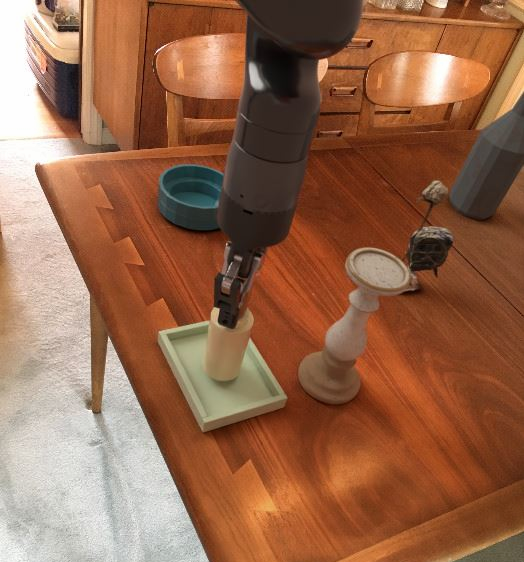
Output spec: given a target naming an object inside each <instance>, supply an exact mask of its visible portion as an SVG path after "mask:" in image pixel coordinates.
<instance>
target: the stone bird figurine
mask: <svg viewBox="0 0 524 562" xmlns="http://www.w3.org/2000/svg"><path fill="white" fill-rule="evenodd" d="M448 193H449V188H448V187H447V186H446V185H444V184H443V182H442V181H441V180H438V179H434V180H433V181H431V183H430V184H429V185H428V186H427V187H425V188H424V189H423V191H422V192H421V197H418V199H416V201H415V203H420V202H421V201H424V202H426V203H429V204H430V205H429V207H428V209H427V211H426V213H425V216H424V219H423V220H422V223H421V224H420V227H419V228H418V229H417V230H415V231H414V232H413V234H412V236H410V237H409V241H408V245H407V250H405V253H404V256H403V258H402V259H401V261H402V262H403V263H404V261H405V260H407V262H408V263H407V264H405V263H404V264H405V265H406V266H407V268H408V270H409V272H410V284H409V286H408V288H407V289H406V290H405V291H404V292H408V291H415V290H421V287H420V286H419V282H418V277H417V274H416V272H422V271H432V272H433V274H434V276H435V278H436V279H438V278H439V273H438V272H439V271H438V268H440V267H442V266H443V265H444V263H445V262H446V261H447V259H448V256H449V251H450V250H451V248H452V246H453V244H454V240H456V239H457V237H454V236H453V234H452V232H451V231H450V230H449V229H448V228H447V227H440V226H431V225H430V226H425V224H426V222H427V220H428V217H429V216H430V214H431V212H432V211H433V208H434V206H437V205H439V204H440V203H442V201H444V199H445V198H446V196H447V195H448Z"/></svg>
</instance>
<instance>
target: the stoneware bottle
mask: <svg viewBox="0 0 524 562" xmlns="http://www.w3.org/2000/svg"><path fill="white" fill-rule="evenodd" d="M237 277H238V276H237ZM238 278H240V277H238ZM240 279H243V280H248V278H240ZM252 286H253V287H254V284H253V285H252ZM253 287H251V288H250V290H249V291H248V292H245V296H244V299H243V305H242V306H241V309H240V313H239V318H238V322H237V325H236V327H235V328H234V329H230V328H227V327H224V326H222V325H220V324H218V322H217V320H218V315H219V310H220V309H219V308H215V307H214V306H213V308H212V310H211V312H210V317H209V320H210V322H209V327H208V332H207V338H206V343H205V348H204V354H203V359H202V367H203V370H204V371H205V373H206V374H207V375H208V376H210V377H211V378H213V379H216V380H220V381H228V380H232V379H234V378H235V377H237V376H238V375H239V373H240V371H241V368H242V364H243V361H244V357H245V353H246V349H247V346H248V342H249V338H251V334H252V331H253V327H254V323H255V319H254V315H253V313H252V311H251V310H250V309H249V307H248V306H249V302H250V299H251V295H252V291H251V290H253ZM250 294H251V295H250ZM249 298H250V299H249Z"/></svg>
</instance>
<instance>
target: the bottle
mask: <svg viewBox="0 0 524 562" xmlns="http://www.w3.org/2000/svg"><path fill="white" fill-rule="evenodd" d="M523 167H524V91H522V93H521V95H520V96H519V98H518V99H517V101H516V102H515V103H514V105H513V107H512V108H511V109H510V110H508V111H507V112H505V113H503V114H502V115H500V116H499V117H498V118H496V119H495V120H494V121H492V122H490V123H489V124H487V125H486V126H484V127H483V128H482V129H481V130H480V132H479V134H478V135H477V137H476V139H475V142H474V144H473V146H472V147H471V149H470V151H469V153H468V156H467V157H466V160H465V161H464V163H463V165H462V167H461V169H460V171H459V174H458V175H457V177H456V179H455V181H454V183H453V184H452V186H451V189H450V190H449V192H448V193H449V195H448V196H449V204H450V206H451V207H452V208H453V209H454V210H455V211H457V213H459V214H461V215H462V216H463V217H468V218H470V219H474V220H477V221H485V220H486V219H488V218H490V217H491V216H493V215H495V214H496V212H497V211H498V209H499V207H500V205H501V204H502V202H503V201H504V199H505V197H506V196H507V193H508V192H509V190H510V189H511V187H512V185H513V183H514V182H515V180H516V179H517V177H518V175H519V174H520V172H521V170H522V168H523Z"/></svg>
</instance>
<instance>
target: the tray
mask: <svg viewBox="0 0 524 562" xmlns="http://www.w3.org/2000/svg"><path fill="white" fill-rule="evenodd" d="M209 322H210V319H209V320H204V321H200V322H196V323H191V324H187V325H181V326H178V327H173V328H167V329H163V330H159V331H158V335H157V343H158V345H159V347H160V350H161V351H162V354H163V355H164V357H165V359H166V362H167V364H168V365H169V367H170V370H171V372H172V374H173V375H174V378H175V380H176V382H177V384H178V386H179V387H180V390H181V392H182V394H183V396H184V398H185V400H186V402H187V404H188V406H189V408H190V410H191V413H192V414H193V416H194V419H195V420H196V422H197V424H198V427H199V428H200V430H201V432H202V433H206V432H209V431H213V430H216V429H218V428H222V427H225V426H228V425H232V424H235V423H238V422H241V421H244V420H247V419H251V418H255V417H257V416H260V415H264V414H267V413H270V412H275V411H276V410H277V411H278V410H280V409H283V408H284V407H285V406H286V403H287V400H288V396H287V394H286V393H285V391H284V389H283V388H282V386H281V385H280V384H279V383H280V382H279V381H278V380H277V378H276V377H275V375H274V374H273V372H272V370H271V369H270V367H269V365H268V364H267V362H266V361H265V359H264V357H263V356H262V354H261V352H260V351H259V349H258V348H257V346H256V345H255V343H254V340H252V338H251V337H250V338H249V342H248V346H247V349H246V353H245V357H244V361H243V364H242V368H241V371H240V373H239V375H238V376H237V377H235V378H234V379H232V380H228V381H220V380H216V379H213V378H211V377H210V376H208V375H207V374H206V373H205V371H204V370H203V367H202V359H203V354H204V348H205V343H206V338H207V332H208V327H209Z"/></svg>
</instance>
